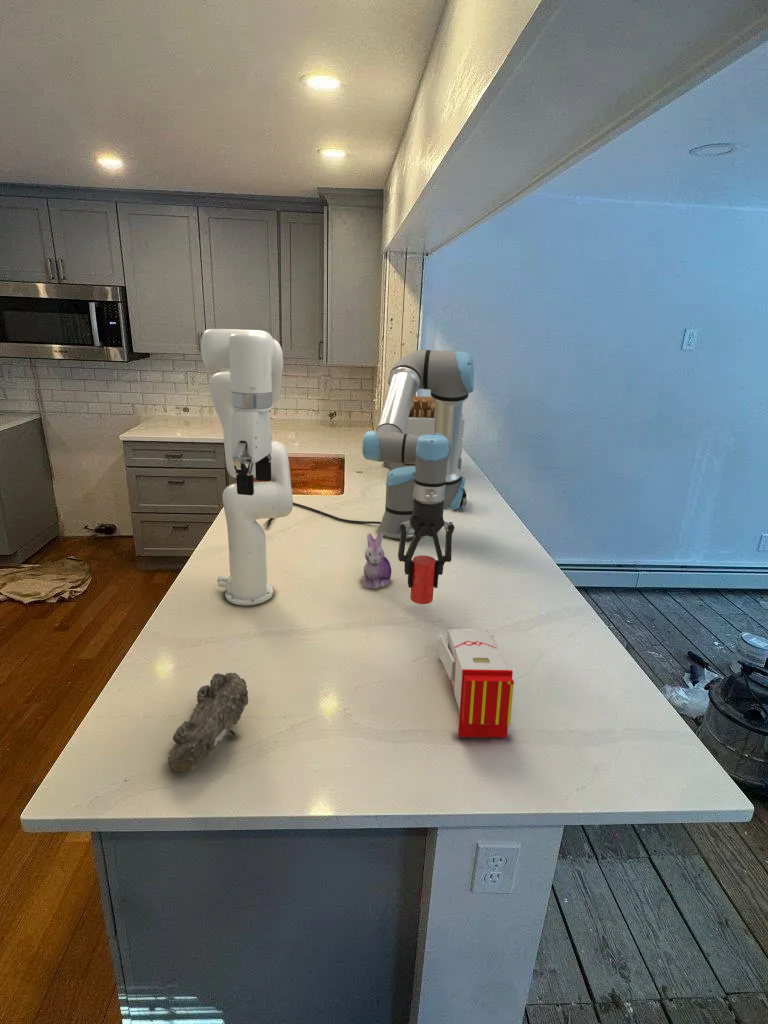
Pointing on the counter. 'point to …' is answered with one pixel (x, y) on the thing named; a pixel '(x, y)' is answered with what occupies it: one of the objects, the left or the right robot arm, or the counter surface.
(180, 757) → the fossil
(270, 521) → the feather
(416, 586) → the can
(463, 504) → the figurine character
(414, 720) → the counter surface
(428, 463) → the right robot arm
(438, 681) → the counter surface
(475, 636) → the toy
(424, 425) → the grey wooden crate
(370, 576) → the figurine
